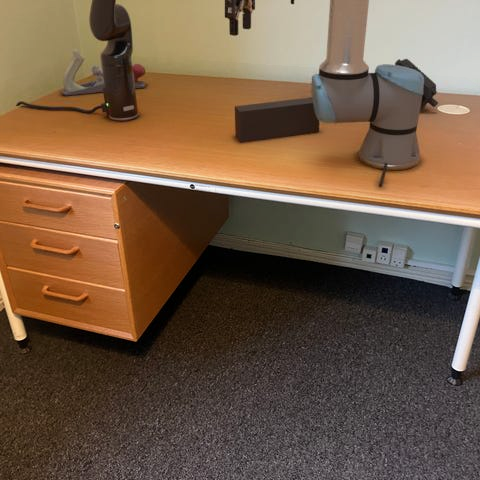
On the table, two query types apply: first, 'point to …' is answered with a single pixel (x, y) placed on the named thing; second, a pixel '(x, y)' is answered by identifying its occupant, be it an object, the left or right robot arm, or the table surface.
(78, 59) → the hand plane
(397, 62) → the tool
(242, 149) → the table surface
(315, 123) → the bar
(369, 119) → the right robot arm
